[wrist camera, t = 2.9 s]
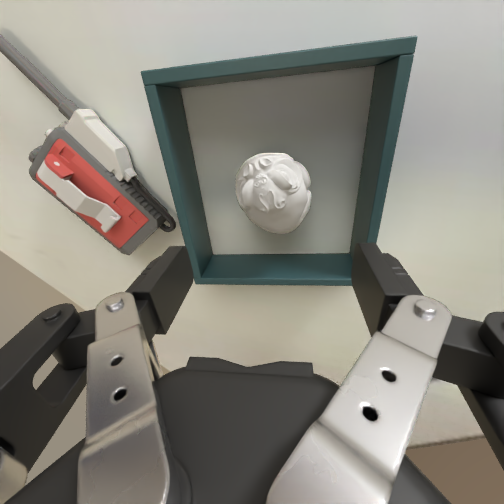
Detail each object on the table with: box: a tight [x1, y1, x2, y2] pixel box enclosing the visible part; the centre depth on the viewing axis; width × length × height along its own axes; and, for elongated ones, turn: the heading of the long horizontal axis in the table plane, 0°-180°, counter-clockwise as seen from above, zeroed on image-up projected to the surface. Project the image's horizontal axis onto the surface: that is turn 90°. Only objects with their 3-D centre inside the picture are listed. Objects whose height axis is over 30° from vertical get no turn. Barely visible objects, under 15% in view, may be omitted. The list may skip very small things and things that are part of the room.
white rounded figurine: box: [235, 153, 311, 234], centre depth 20 cm, size 6×7×7 cm
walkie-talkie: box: [0, 34, 176, 255], centre depth 22 cm, size 9×4×20 cm
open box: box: [141, 36, 417, 286], centre depth 21 cm, size 18×17×4 cm
